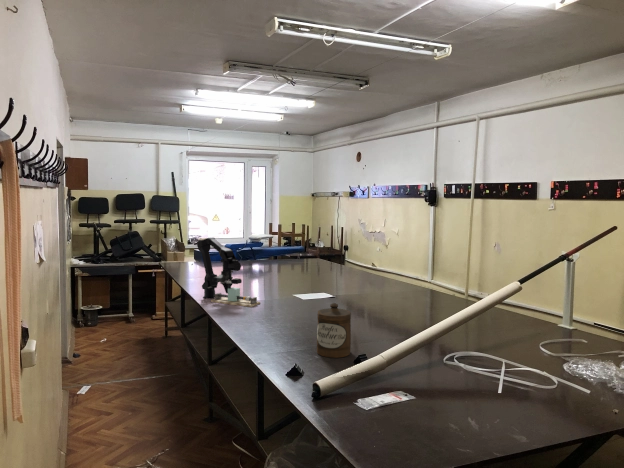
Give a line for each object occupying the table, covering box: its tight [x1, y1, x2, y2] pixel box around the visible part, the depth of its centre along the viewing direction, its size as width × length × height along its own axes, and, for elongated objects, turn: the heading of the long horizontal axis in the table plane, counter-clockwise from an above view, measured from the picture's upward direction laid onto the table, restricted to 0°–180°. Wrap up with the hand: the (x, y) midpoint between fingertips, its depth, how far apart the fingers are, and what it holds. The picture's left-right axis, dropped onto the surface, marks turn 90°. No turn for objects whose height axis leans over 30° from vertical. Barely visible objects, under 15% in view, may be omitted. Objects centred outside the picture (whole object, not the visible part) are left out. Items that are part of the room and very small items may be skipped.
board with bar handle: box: [210, 292, 261, 308], centre depth 306 cm, size 30×11×5 cm, turn 65°
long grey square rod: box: [218, 293, 255, 301], centre depth 306 cm, size 29×2×2 cm, turn 65°
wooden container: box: [316, 302, 352, 359], centre depth 210 cm, size 15×15×22 cm
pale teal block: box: [227, 286, 241, 301], centre depth 306 cm, size 6×5×8 cm
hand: (227, 293), depth 308 cm, fingers closed
